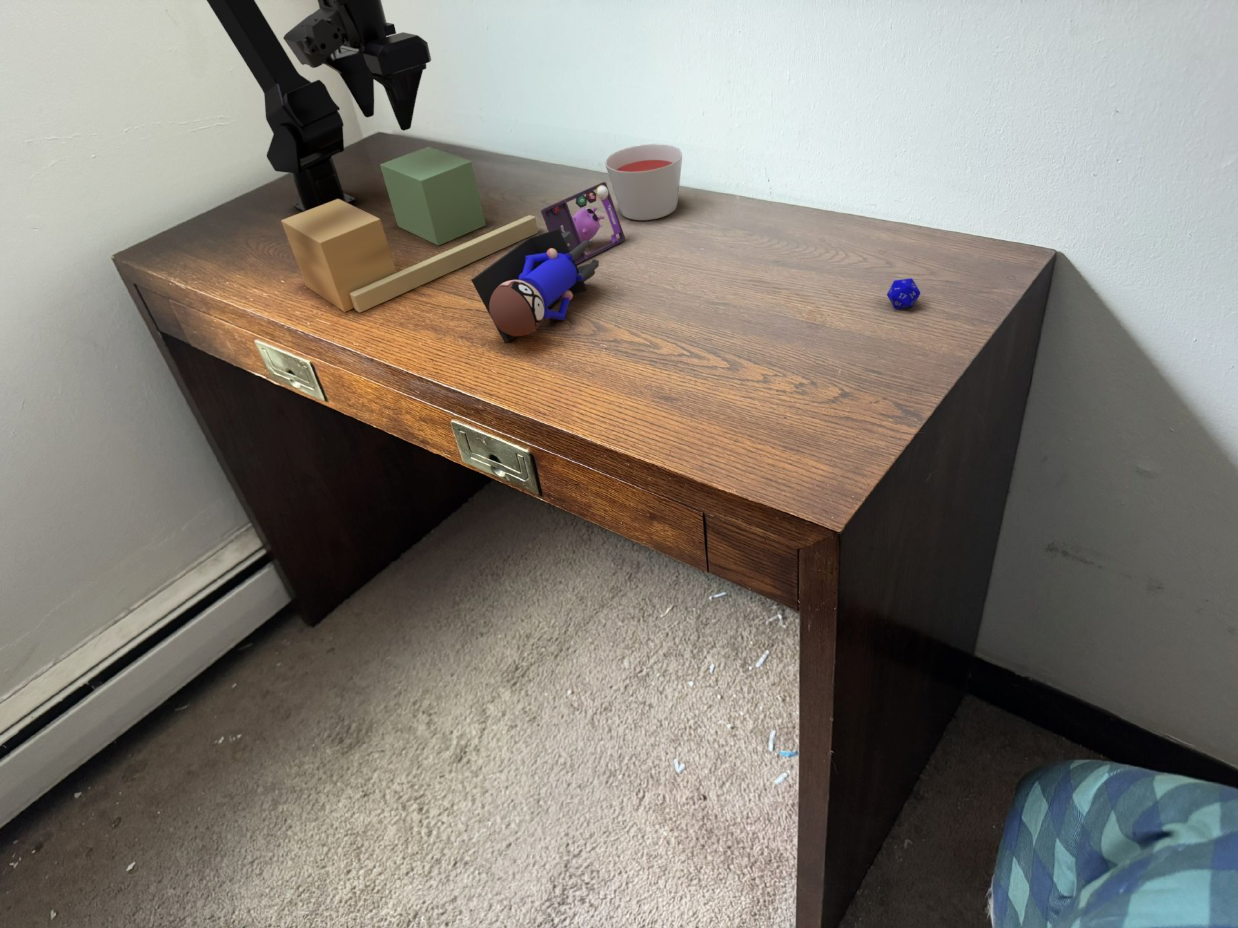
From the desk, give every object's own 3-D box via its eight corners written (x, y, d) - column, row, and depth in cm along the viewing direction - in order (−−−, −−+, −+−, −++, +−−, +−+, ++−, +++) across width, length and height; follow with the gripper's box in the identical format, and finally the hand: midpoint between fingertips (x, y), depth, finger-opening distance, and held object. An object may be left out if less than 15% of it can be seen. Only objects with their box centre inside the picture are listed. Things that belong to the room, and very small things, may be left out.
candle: (604, 226, 102) (597, 173, 98) (620, 196, 109) (614, 145, 105) (679, 224, 100) (675, 170, 96) (691, 194, 107) (687, 142, 103)
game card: (545, 208, 91) (609, 180, 95) (521, 214, 95) (583, 187, 100) (568, 269, 94) (629, 239, 98) (543, 272, 98) (603, 243, 102)
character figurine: (613, 290, 90) (528, 364, 81) (556, 275, 93) (468, 345, 84) (608, 220, 85) (517, 290, 76) (547, 206, 88) (452, 273, 79)
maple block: (305, 286, 99) (280, 220, 94) (360, 263, 103) (338, 198, 98) (344, 312, 93) (319, 242, 88) (401, 287, 96) (380, 218, 91)
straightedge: (354, 309, 93) (348, 293, 92) (532, 230, 104) (529, 214, 103) (359, 313, 92) (354, 296, 91) (538, 232, 103) (535, 216, 102)
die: (920, 301, 80) (929, 287, 78) (900, 319, 80) (908, 306, 77) (898, 282, 81) (906, 267, 78) (878, 300, 81) (886, 285, 78)
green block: (397, 226, 110) (379, 164, 105) (444, 207, 113) (428, 146, 108) (438, 246, 104) (420, 180, 99) (486, 225, 107) (471, 161, 102)
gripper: (245, -13, 97) (293, 129, 107) (316, 1, 85) (363, 159, 95) (335, -34, 102) (373, 103, 112) (414, -24, 90) (449, 129, 100)
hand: (387, 123), depth 104 cm, fingers open, 9 cm apart
